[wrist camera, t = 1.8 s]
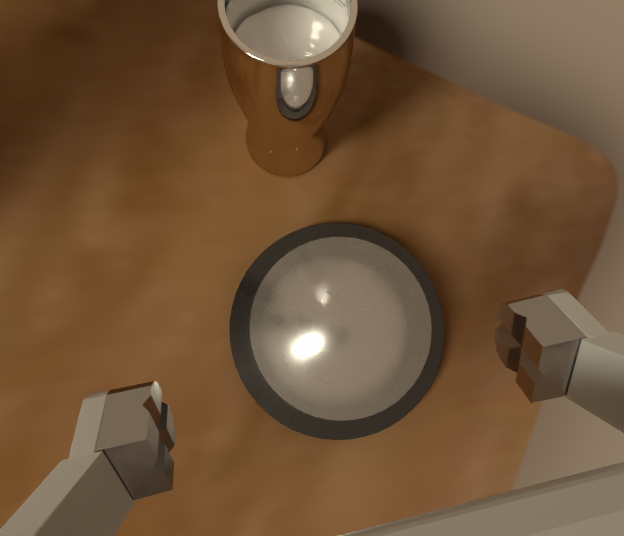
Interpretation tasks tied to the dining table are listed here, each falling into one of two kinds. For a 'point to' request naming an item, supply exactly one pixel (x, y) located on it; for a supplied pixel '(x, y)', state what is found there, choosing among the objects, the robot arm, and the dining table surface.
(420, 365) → the disc
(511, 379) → the dining table surface
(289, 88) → the beer glass
